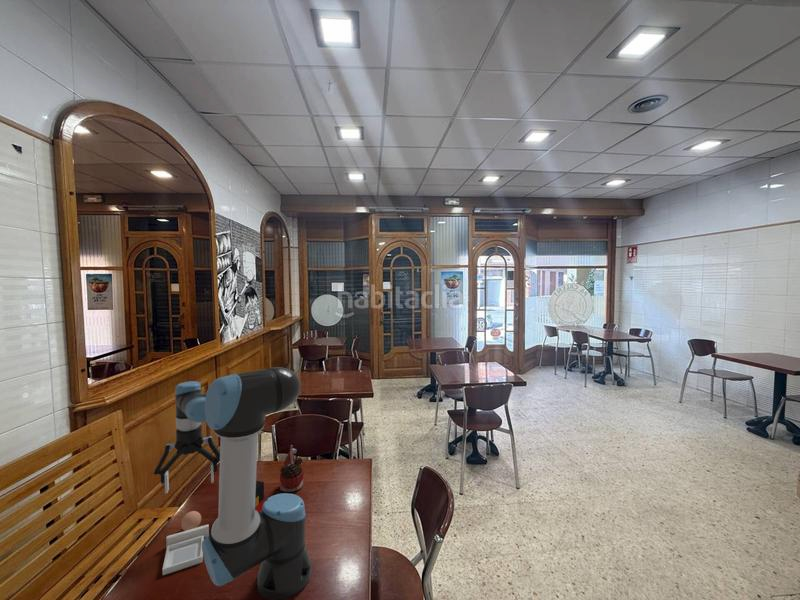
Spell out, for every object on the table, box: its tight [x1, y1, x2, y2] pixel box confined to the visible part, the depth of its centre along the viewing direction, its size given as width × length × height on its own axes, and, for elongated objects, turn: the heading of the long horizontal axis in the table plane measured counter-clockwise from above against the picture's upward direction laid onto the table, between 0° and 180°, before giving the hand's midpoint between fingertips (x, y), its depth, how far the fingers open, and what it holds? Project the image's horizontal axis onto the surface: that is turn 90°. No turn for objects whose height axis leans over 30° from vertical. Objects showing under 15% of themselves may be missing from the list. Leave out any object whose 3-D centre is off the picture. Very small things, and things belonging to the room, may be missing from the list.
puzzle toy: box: [255, 480, 265, 512], centre depth 127 cm, size 10×10×10 cm
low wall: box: [165, 524, 210, 547], centre depth 113 cm, size 1×12×4 cm, turn 118°
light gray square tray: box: [162, 535, 205, 576], centre depth 106 cm, size 10×10×2 cm
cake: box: [279, 444, 304, 493], centre depth 143 cm, size 11×9×18 cm
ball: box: [180, 510, 202, 531], centre depth 118 cm, size 6×6×6 cm
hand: (190, 486), depth 118 cm, fingers open, 13 cm apart
